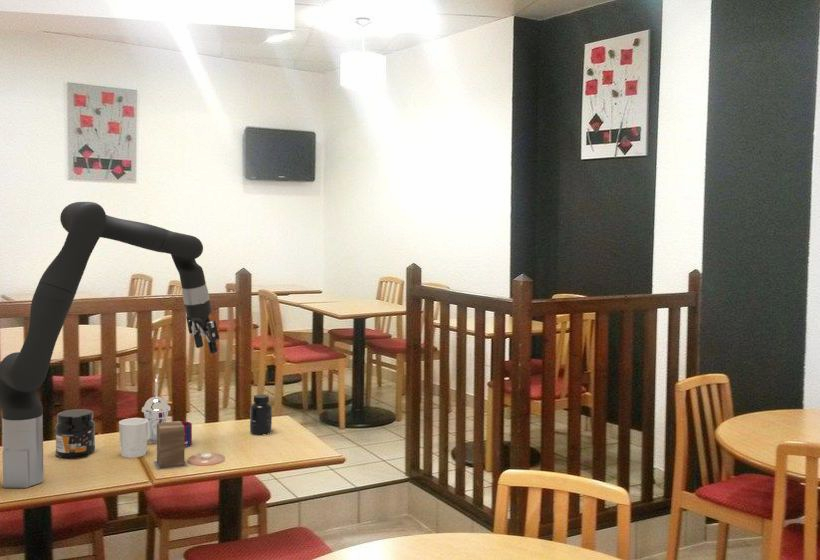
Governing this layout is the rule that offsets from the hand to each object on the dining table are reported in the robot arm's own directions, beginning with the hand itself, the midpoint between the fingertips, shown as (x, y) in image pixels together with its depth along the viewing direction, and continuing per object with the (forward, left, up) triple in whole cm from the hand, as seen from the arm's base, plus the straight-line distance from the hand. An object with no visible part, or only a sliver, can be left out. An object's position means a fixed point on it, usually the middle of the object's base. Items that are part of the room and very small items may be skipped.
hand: (206, 349), depth 237 cm
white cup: (-16, +17, -29) cm, 37 cm away
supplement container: (-15, +34, -29) cm, 47 cm away
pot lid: (-21, -5, -28) cm, 36 cm away
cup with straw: (-1, +15, -28) cm, 32 cm away
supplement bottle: (+10, -15, -29) cm, 34 cm away
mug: (-5, +7, -29) cm, 30 cm away
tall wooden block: (-25, +4, -28) cm, 38 cm away
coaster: (-25, +4, -28) cm, 38 cm away
